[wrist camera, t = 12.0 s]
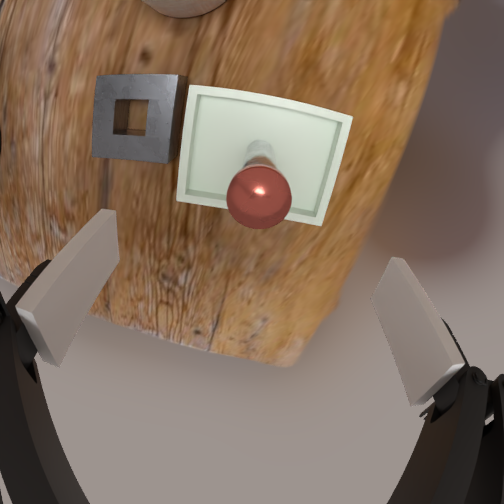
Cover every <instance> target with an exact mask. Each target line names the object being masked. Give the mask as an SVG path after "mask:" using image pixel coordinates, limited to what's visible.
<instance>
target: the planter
mask: <svg viewBox="0 0 504 504" xmlns="http://www.w3.org/2000/svg"><path fill="white" fill-rule="evenodd" d="M142 1H143V2H145V3H146V4H147V5H149V6H150V7H152V8H153V9H154V10H156V11H157V12H159V13H161V14H164V15H167V16H170V17H176V18H188V17H194V16H199V15H202V14H205V13H207V12H210V11H212V10H214V9H215V8H217V7H219V6H220V5H221V4H223V3H224V2H225V1H226V0H142Z"/></svg>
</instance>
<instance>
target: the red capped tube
mask: <svg viewBox="0 0 504 504" xmlns="http://www.w3.org/2000/svg"><path fill="white" fill-rule="evenodd" d="M226 202H227V207H228V210H229V212H230V214H231V215H232V216H233V218H234V219H235V220H236V221H238V222H239V223H240V224H242V225H244V226H246V227H249V228H253V229H266V228H270V227H272V226H275V225H277V224H278V223H280V222H281V221H282V220H283V219H284V218H285V217H286V216H287V214H288V212H289V210H290V208H291V204H292V194H291V190H290V186H289V183H288V181H287V179H286V177H285V176H284V175H283V174H282V173H281V172H280V171H279V170H278V169H277V164H276V159H275V155H274V150H273V147H272V146H271V144H269V143H268V142H267V141H264V140H256V141H254V142H252V143H251V144H250V145H249V146H248V148H247V151H246V155H245V159H244V163H243V167H242V169H241V170H239V171H238V172H237V173H236V174H235V175H234V176H233V178H232V180H231V182H230V184H229V187H228V190H227V195H226Z"/></svg>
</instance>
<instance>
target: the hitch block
mask: <svg viewBox="0 0 504 504" xmlns="http://www.w3.org/2000/svg"><path fill="white" fill-rule="evenodd" d="M187 78H188V77H187V76H181V75H168V74H120V75H102V76H97V79H96V88H95V98H94V111H93V130H92V157H100V158H114V159H126V160H137V161H148V162H157V163H166V164H168V163H169V162H170V161H171V160H172V159H174V158H175V157H176V156H177V152H178V143H179V134H180V126H181V118H182V111H183V104H184V97H185V90H186V84H187ZM130 99H149V104H148V113H147V123H146V130H137V129H127V125H128V113H129V102H130Z"/></svg>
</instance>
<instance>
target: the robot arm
mask: <svg viewBox="0 0 504 504" xmlns="http://www.w3.org/2000/svg"><path fill="white" fill-rule="evenodd" d="M0 150H1V133H0ZM119 261H120V260H119V249H118V237H117V222H116V211H115V210H108V209H101V210H100V211H99V212H98V213H97V214H96V215H95V216H94V217H93V218H92V219H91V220H90V221H89V222H88V223H87V224H86V225H85V226H84V227H83V228H82V229H81V230H80V231H79V232H78V233H77V234H76V235H75V236H74V237H73V238H72V239H71V240H70V241H69V242H68V243H67V244H66V245H65V246H64V248H63V249H62V250H61V251H60V252H59V253H58V254H57V255H56V256H55V258H54V259H53V260H48V259H47V260H46V261H44V262H43V263H41V264H40V265H38V266H37V267H36V268H35V269H34V270H33V272H32V273H31V274H30V276H28V277H27V279H26V280H25V282H24V283H22V285H21V286H20V287H19V288H18V290H17V291H16V292H15V293H14V295H13V296H12V297H11V299H10V300H9V301H8V303H7V304H5V301H4V299H3V297H2V294H1V292H0V471H1V474H2V478H3V480H4V483H5V486H6V488H7V491H8V494H9V496H10V499H11V501H12V503H13V504H90V503H89V502H88V500H87V498H86V496H85V495H84V493H83V491H82V489H81V487H80V485H79V483H78V481H77V479H76V477H75V475H74V473H73V471H72V469H71V467H70V464H69V462H68V460H67V458H66V455H65V453H64V451H63V448H62V446H61V443H60V441H59V438H58V435H57V433H56V430H55V427H54V424H53V421H52V419H51V416H50V413H49V409H48V406H47V403H46V399H45V396H44V392H43V389H42V385H41V381H40V377H39V373H38V369H37V364H36V362H35V359H34V357H35V355H36V353H37V351H38V353H39V355H40V356H41V358H42V360H43V361H44V362H47V363H50V364H52V365H55V366H57V367H60V365H61V363H62V360H63V358H64V356H65V354H66V352H67V350H68V348H69V347H70V345H71V342H72V341H73V339H74V337H75V335H76V333H77V331H78V329H79V328H80V326H81V324H82V322H83V320H84V318H85V317H86V315H87V313H88V312H89V310H90V308H91V306H92V305H93V303H94V301H95V299H96V298H97V296H98V294H99V293H100V291H101V289H102V288H103V286H104V285H105V283H106V281H107V280H108V278H109V277H110V275H111V273H112V272H113V270H114V269H115V267H116V266H117V264H118V262H119ZM371 302H372V304H373V306H374V309H375V311H376V313H377V316H378V318H379V321H380V323H381V326H382V328H383V331H384V333H385V336H386V338H387V341H388V343H389V346H390V348H391V351H392V354H393V356H394V359H395V362H396V365H397V367H398V370H399V373H400V375H401V379H402V381H403V384H404V387H405V390H406V393H407V397H408V400H409V403H410V406H416V405H422V404H424V403H426V402H427V401H428V400H429V399H430V398H431V397H432V396H433V398H434V400H435V402H434V403H432V404H431V405H430V406H429V407H428V408H427V409H425V410H424V411H423V412H422V413H421V414H420V416H419V417H422V416H423V415H425V414H426V413H428V414H427V416H426V417H425V418H424V420H425V423H424V425H423V428H422V431H421V433H420V436H419V439H418V441H417V444H416V446H415V448H414V451H413V453H412V455H411V458H410V460H409V462H408V464H407V466H406V468H405V471H404V473H403V475H402V477H401V479H400V481H399V483H398V485H397V486H396V488H395V490H394V492H393V494H392V496H391V498H390V499H389V501H388V503H387V504H504V374H501V375H499V376H498V377H497V378H496V379H495V380H494V381H491V380H487V377H486V375H485V374H484V373H483V371H482V370H481V369H479V368H478V367H475V366H472V367H470V366H469V364H468V362H467V360H466V358H465V356H464V354H463V352H462V350H461V348H460V346H459V344H458V342H456V339H455V337H454V335H452V334H453V333H452V331H451V330H450V328H449V326H448V325H447V323H446V322H445V321H444V320H443V319H442V318H441V317H440V315H439V314H438V312H437V310H436V309H435V307H434V305H433V304H432V302H431V300H430V299H429V297H428V295H427V294H426V293H425V291H424V289H423V287H422V286H421V285H420V283H419V281H418V280H417V278H416V277H415V275H414V274H413V272H412V271H411V269H410V268H409V266H408V265H407V263H406V262H405V260H404V259H401V258H396V257H391V259H390V261H389V263H388V266H387V268H386V269H385V272H384V274H383V276H382V278H381V279H380V281H379V283H378V285H377V287H376V289H375V291H374V293H373V295H372V297H371ZM492 414H494V420H493V421H491V422H490V423H489V424H487V425H485V420H486V419H487V418H489V417H490V416H491V415H492ZM0 504H3V501H2V496H1V491H0Z"/></svg>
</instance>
